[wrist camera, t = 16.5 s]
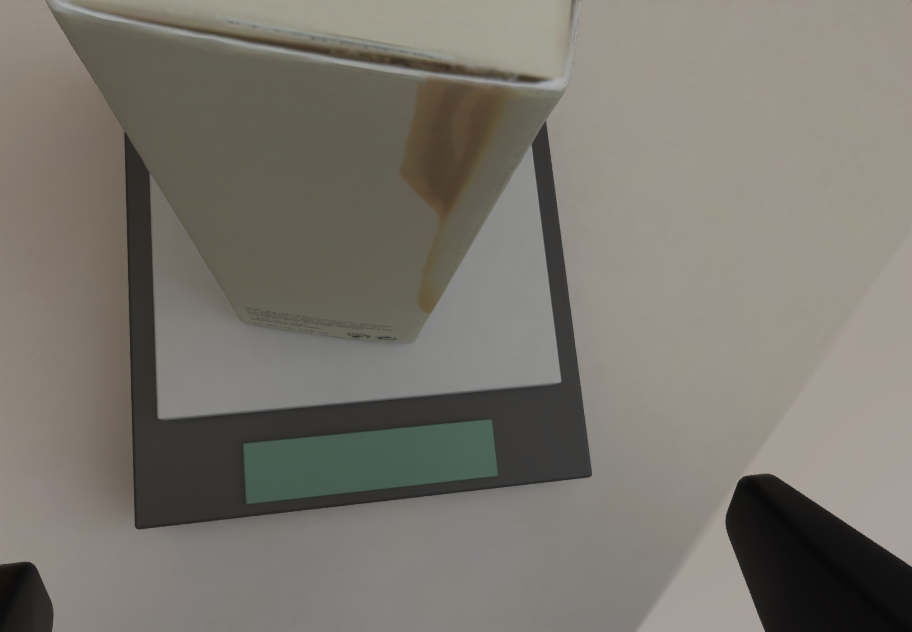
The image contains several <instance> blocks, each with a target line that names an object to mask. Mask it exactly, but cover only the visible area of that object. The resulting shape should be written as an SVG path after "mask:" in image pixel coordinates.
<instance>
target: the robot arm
mask: <svg viewBox="0 0 912 632" xmlns="http://www.w3.org/2000/svg"><path fill="white" fill-rule="evenodd" d="M725 522H726V529H727V533H728V536H729V539H730V541H731V544H732V547H733V549H734V552H735V555H736V557H737V560H738V563H739V565H740V567H741V570H742V573H743V576H744V578H745V581H746V584H747V586H748V589H749V591H750V594H751V597H752V599H753V602H754V605H755V607H756V610H757V613H758V615H759V618H760V620H761V622H762V625H763V628H764V630H765V632H912V567H911V566H910V565H908V564H907V563H905V562H904V561H902V560H901V559H899V558H898V557H896V556H895V555H893V554H892V553H890V552H889V551H887V550H886V549H884V548H883V547H881V546H880V545H878V544H877V543H875V542H873V541H872V540H871V539H869V538H867V537H866V536H865V535H863V534H862V533H860V532H859V531H857V530H856V529H854V528H853V527H851V526H850V525H848V524H847V523H845V522H844V521H842V520H841V519H839V518H838V517H836V516H835V515H833V514H832V513H830V512H829V511H827V510H826V509H824V508H823V507H821V506H820V505H818V504H817V503H815V502H814V501H812V500H810V499H809V498H808V497H806V496H805V495H803V494H802V493H800V492H799V491H797V490H795V489H794V488H793V487H791V486H790V485H788V484H787V483H785V482H784V481H782V480H781V479H779V478H778V477H776V476H774V475H771V474H758V475H749V476H744V477H742V478H741V479H740V480H739V482H738V484H737V486H736V489H735V492H734V494H733V497H732V500H731V503H730V505H729V508H728V511H727V514H726V521H725ZM52 627H53V606H52V602H51V600H50V597H49V595H48V593H47V591H46V588H45V586H44V584H43V582H42V579H41V577H40V575H39V572H38V570H37V568H36V567H35V565H34V564H32V563H31V562H18V563H10V564H1V565H0V632H52Z"/></svg>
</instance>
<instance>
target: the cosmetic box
mask: <svg viewBox="0 0 912 632" xmlns="http://www.w3.org/2000/svg"><path fill="white" fill-rule="evenodd" d="M46 2H47V4H48V6H49V8H50V10H51V12H52V13H53V15H54V17H55V19H56V21H57V22H58V24H59V25H60V27H61V29H62V30H63V32H64V33H65V35H66V36H67V38H68V40H69V42H70V43H71V45H72V47H73V48H74V50H75V52H76V53H77V55H78V56H79V58H80V59H81V61H82V62H83V64H84V65H85V67H86V69H87V70H88V72H89V73H90V75H91V76H92V78H93V80H94V81H95V83H96V84H97V86H98V88H99V89H100V91H101V93H102V94H103V96H104V98H105V99H106V101H107V103H108V104H109V106H110V108H111V109H112V111H113V113H114V114H115V116H116V118H117V119H118V121H119V123H120V124H121V126H122V128H123V129H124V131H125V132H126V134H127V136H128V137H129V139H130V141H131V142H132V144H133V146H134V148H135V149H136V151H137V152H138V154H139V155H140V157H141V158H142V160H143V162H144V164H145V166H146V168H147V169H148V171H149V172H150V174H151V175H152V177H153V178H154V180H155V181H156V183H157V185H158V187H159V188H160V190H161V191H162V193H163V194H164V196H165V198H166V200H167V201H168V203H169V204H170V206H171V207H172V209H173V211H174V212H175V214H176V216H177V217H178V219H179V220H180V222H181V224H182V225H183V227H184V228H185V230H186V232H187V233H188V235H189V237H190V238H191V240H192V241H193V243H194V244H195V246H196V248H197V250H198V252H199V253H200V255H201V256H202V258H203V260H204V262H205V263H206V265H207V266H208V268H209V270H210V271H211V273H212V274H213V276H214V278H215V279H216V281H217V283H218V284H219V286H220V288H221V289H222V291H223V292H224V294H225V296H226V297H227V299H228V301H229V302H230V304H231V306H232V308H233V309H234V311H235V312H236V314H237V316H238V317H239V319H240V320H241V321H242V322H243V323H245V324H251V325H257V326H263V327H270V328H276V329H283V330H289V331H296V332H304V333H311V334H318V335H325V336H333V337H340V338H350V339H358V340H369V341H380V342H393V343H408V344H410V343H414V342H415V341H416V340H417V338H418V336H419V334H420V333H421V331H422V329H423V328H424V326H425V324H426V322H427V321H428V319H429V317H430V315H431V313H432V312H433V310H434V308H435V306H436V305H437V303H438V302H439V300H440V298H441V296H442V295H443V293H444V292H445V290H446V288H447V287H448V285H449V283H450V281H451V280H452V278H453V276H454V275H455V273H456V271H457V269H458V268H459V266H460V264H461V263H462V261H463V259H464V257H465V256H466V254H467V252H468V250H469V249H470V247H471V245H472V244H473V242H474V240H475V239H476V237H477V235H478V234H479V232H480V230H481V228H482V227H483V225H484V223H485V222H486V220H487V218H488V217H489V215H490V213H491V211H492V210H493V208H494V206H495V205H496V203H497V201H498V199H499V198H500V196H501V194H502V193H503V191H504V190H505V188H506V186H507V185H508V183H509V181H510V179H511V178H512V176H513V174H514V172H515V170H516V169H517V168H518V166H519V165H520V163H521V161H522V159H523V157H524V156H525V154H526V152H527V150H528V149H529V147H530V146H531V144H532V142H533V141H534V139H535V137H536V136H537V134H538V132H539V131H540V129H541V127H542V126H543V124H544V123H545V121H546V119H547V118H548V116H549V114H550V113H551V111H552V110H553V108H554V107H555V105H556V104H557V102H558V101H559V99H560V98H561V97H562V95H563V94H564V91H565V89H566V87H567V85H568V83H569V81H570V78H571V76H572V71H573V62H574V53H575V44H576V37H577V31H578V25H579V16H580V6H581V0H46Z"/></svg>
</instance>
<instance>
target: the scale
mask: <svg viewBox="0 0 912 632" xmlns="http://www.w3.org/2000/svg"><path fill="white" fill-rule="evenodd" d="M124 134H125V171H126V209H127V247H128V285H129V322H130V360H131V398H132V436H133V474H134V511H135V527H136V529H146V528H155V527H164V526H172V525H181V524H190V523H198V522H207V521H216V520H224V519H233V518H242V517H250V516H259V515H267V514H276V513H285V512H293V511H302V510H311V509H319V508H328V507H337V506H345V505H354V504H363V503H371V502H380V501H388V500H397V499H406V498H414V497H423V496H432V495H440V494H449V493H458V492H466V491H475V490H484V489H492V488H501V487H510V486H518V485H527V484H535V483H544V482H553V481H561V480H570V479H579V478H587V477H590V476H591V475H592V470H591V463H590V455H589V447H588V440H587V432H586V424H585V417H584V409H583V401H582V394H581V386H580V378H579V371H578V363H577V355H576V348H575V340H574V332H573V325H572V317H571V309H570V302H569V294H568V286H567V279H566V271H565V263H564V256H563V248H562V240H561V233H560V225H559V217H558V210H557V202H556V194H555V187H554V179H553V171H552V164H551V156H550V148H549V140H548V133H547V125H546V121H545V123H544V124H543V126H542V127H541V129H540V131H539V132H538V134H537V136H536V137H535V139H534V141H533V142H532V144H531V146H530V147H529V149H528V150H527V152H526V154H525V156H524V157H523V159H522V161H521V163H520V165H519V166H518V168H517V169H516V170H515V172H514V174H513V176H512V178H511V179H510V181H509V183H508V185H507V186H506V188H505V190H504V191H503V193H502V194H501V196H500V198H499V199H498V201H497V203H496V205H495V206H494V208H493V210H492V211H491V213H490V215H489V217H488V218H487V220H486V222H485V223H484V225H483V227H482V228H481V230H480V232H479V234H478V235H477V237H476V239H475V240H474V242H473V244H472V245H471V247H470V249H469V250H468V252H467V254H466V256H465V257H464V259H463V261H462V263H461V264H460V266H459V268H458V269H457V271H456V273H455V275H454V276H453V278H452V280H451V281H450V283H449V285H448V287H447V288H446V290H445V292H444V293H443V295H442V296H441V298H440V300H439V302H438V303H437V305H436V306H435V308H434V310H433V312H432V313H431V315H430V317H429V319H428V321H427V322H426V324H425V326H424V328H423V329H422V331H421V333H420V334H419V336H418V338H417V340H416V341H415V342H414V343H410V344H408V343H393V342H380V341H369V340H358V339H350V338H340V337H333V336H325V335H318V334H311V333H304V332H296V331H289V330H283V329H276V328H270V327H263V326H257V325H251V324H245V323H243V322H242V321H241V320H240V319H239V317H238V316H237V314H236V312H235V311H234V309H233V308H232V306H231V304H230V302H229V301H228V299H227V297H226V296H225V294H224V292H223V291H222V289H221V288H220V286H219V284H218V283H217V281H216V279H215V278H214V276H213V274H212V273H211V271H210V270H209V268H208V266H207V265H206V263H205V262H204V260H203V258H202V256H201V255H200V253H199V252H198V250H197V248H196V246H195V244H194V243H193V241H192V240H191V238H190V237H189V235H188V233H187V232H186V230H185V228H184V227H183V225H182V224H181V222H180V220H179V219H178V217H177V216H176V214H175V212H174V211H173V209H172V207H171V206H170V204H169V203H168V201H167V200H166V198H165V196H164V194H163V193H162V191H161V190H160V188H159V187H158V185H157V183H156V181H155V180H154V178H153V177H152V175H151V174H150V172H149V171H148V169H147V168H146V166H145V164H144V162H143V160H142V158H141V157H140V155H139V154H138V152H137V151H136V149H135V148H134V146H133V144H132V142H131V141H130V139H129V137H128V136H127V134H126V132H125V131H124Z"/></svg>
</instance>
